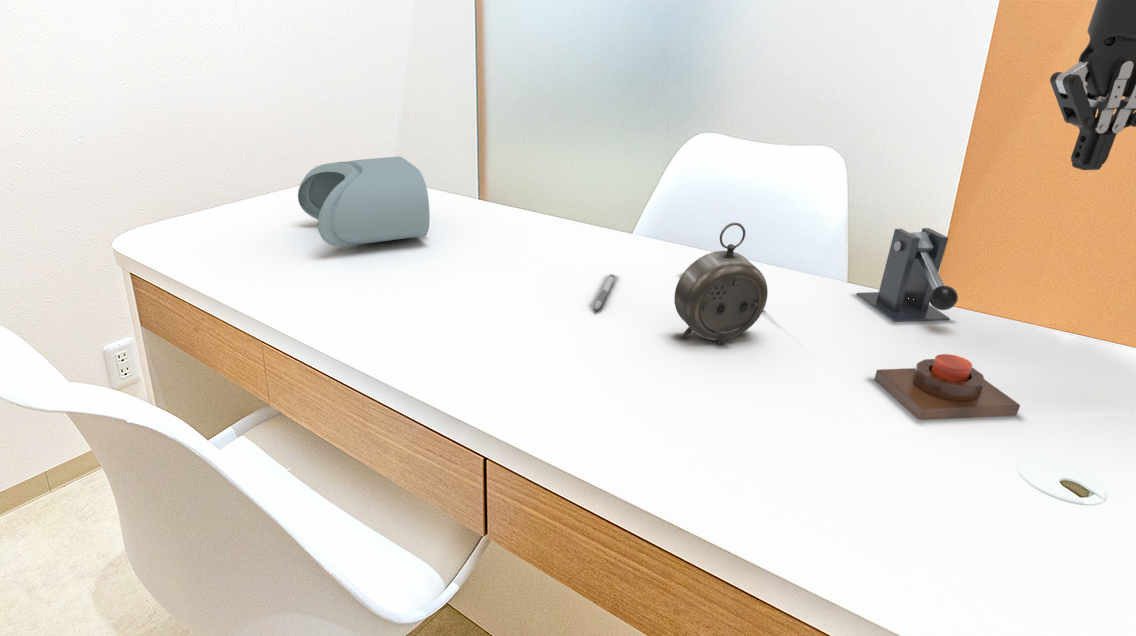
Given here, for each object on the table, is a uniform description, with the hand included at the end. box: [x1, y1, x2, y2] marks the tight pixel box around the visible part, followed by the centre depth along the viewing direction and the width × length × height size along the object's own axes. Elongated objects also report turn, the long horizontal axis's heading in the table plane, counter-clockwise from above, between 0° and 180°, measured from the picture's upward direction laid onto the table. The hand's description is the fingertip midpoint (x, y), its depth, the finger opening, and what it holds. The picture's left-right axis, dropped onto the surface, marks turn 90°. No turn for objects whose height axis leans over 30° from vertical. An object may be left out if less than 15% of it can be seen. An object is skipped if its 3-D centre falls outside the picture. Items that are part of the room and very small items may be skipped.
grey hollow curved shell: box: [297, 156, 431, 248], centre depth 134 cm, size 22×19×13 cm
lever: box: [910, 231, 959, 311], centre depth 100 cm, size 12×3×3 cm, turn 4°
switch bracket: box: [856, 227, 951, 323], centre depth 105 cm, size 10×8×12 cm
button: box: [931, 353, 973, 382], centre depth 82 cm, size 4×4×2 cm
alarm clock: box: [674, 222, 768, 347], centre depth 94 cm, size 11×5×16 cm, turn 100°
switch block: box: [873, 358, 1021, 421], centre depth 83 cm, size 11×9×4 cm
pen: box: [594, 274, 615, 311], centre depth 112 cm, size 1×14×1 cm, turn 162°
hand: (1085, 168), depth 78 cm, fingers closed
